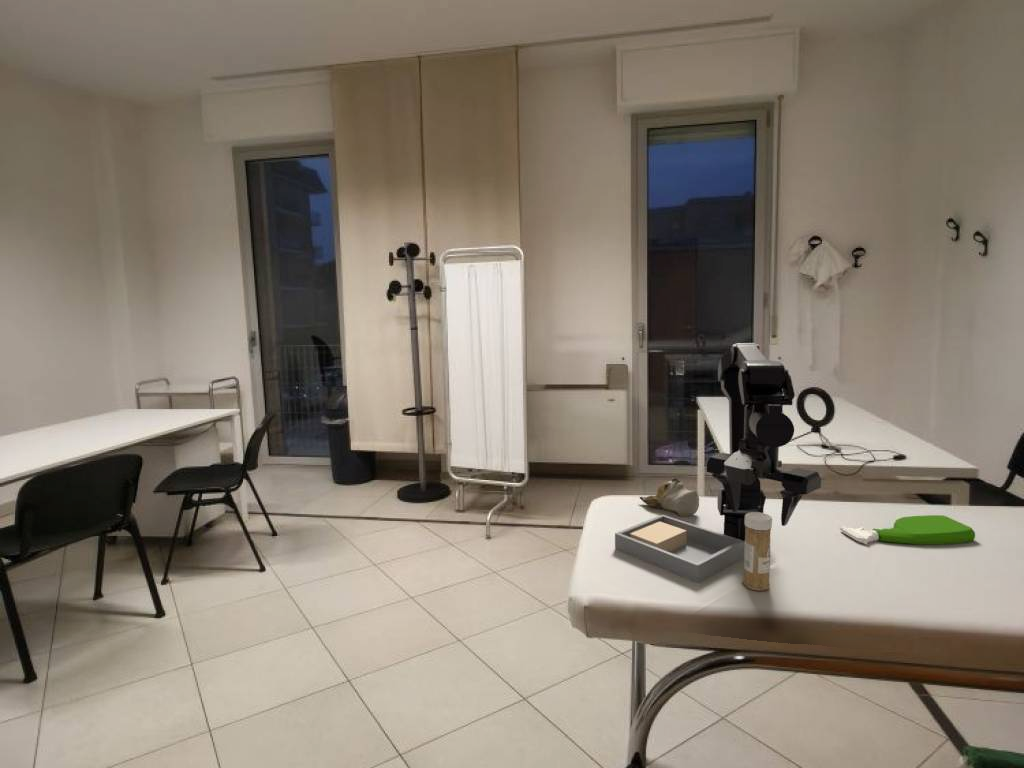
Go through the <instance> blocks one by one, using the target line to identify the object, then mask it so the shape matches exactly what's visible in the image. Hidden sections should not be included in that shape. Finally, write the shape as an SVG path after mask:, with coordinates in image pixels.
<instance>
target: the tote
mask: <svg viewBox="0 0 1024 768" xmlns="http://www.w3.org/2000/svg"><path fill="white" fill-rule="evenodd" d="M657 522H663V523H666V524H669V525H672V526H675V527H678V528H681V529H684V530H686V531H687V543H686V544H685V545H683V546H681V547H679V548H677V549H675V550H672V551H670V552H667V551H665V550H662V549H659V548H657V547H654V546H652V545H649V544H646V543H644V542H641V541H639V540H636V539H633V538H631V537H630V533H633V532H635V531H637V530H640V529H642V528H645V527H647V526H650V525H652V524H655V523H657ZM614 549H615V550H617V551H619V552H621V553H623V554H626V555H628V556H631V557H632V558H633V557H634V558H635V559H638V560H640V561H643V562H645V563H648V564H650V565H652V566H655V567H657V568H660V569H662V570H665V571H667V572H670V573H673V574H674V575H677V576H678V577H679V576H680V577H681V578H684V579H687V580H689V581H691V582H694V583H696V584H699V583H701V582H702V581H704V580H706V579H707V578H709V577H711V576H713V575H715V574H717V573H719V572H720V571H723V570H724V569H726V568H728V567H730V566H731V565H733V564H735V563H737V562H739V561H741V560H742V559H744V550H745V541H742V540H739V539H736V538H733V537H730V536H727V535H724V533H721V532H718V531H715V530H712V529H708V528H705V527H702V526H700V525H696V524H693V523H690V522H687V521H683V520H681V519H678V518H675V517H672V516H669V515H666V514H661V515H658V516H655V517H653V518H651V519H648V520H645V521H642V522H640V523H638V524H635V525H633V526H630V527H628V528H625V529H623V530H620V531H618V532H615V533H614Z"/></svg>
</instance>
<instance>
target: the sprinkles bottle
mask: <svg viewBox="0 0 1024 768" xmlns="http://www.w3.org/2000/svg"><path fill="white" fill-rule="evenodd" d="M744 524H745V550H744V558H743V559H744V560H743V562H744V563H743V568H744V574H743V576H744V577H743V578H744V579H743V581H742V582H743V585H744V586H745V587H746V588H748V589H749V590H753V591H758V592H763V591H767V590H768V589H770V586H771V585H770V570H771V531H772V527H773V517H772V516H771V515H769V514H768V513H764V512H763V513H760V512H750V513H747V514H746V515H745V522H744Z"/></svg>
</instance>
